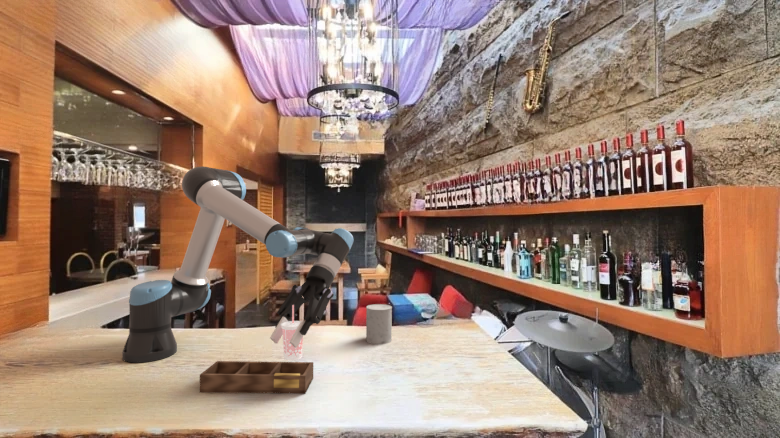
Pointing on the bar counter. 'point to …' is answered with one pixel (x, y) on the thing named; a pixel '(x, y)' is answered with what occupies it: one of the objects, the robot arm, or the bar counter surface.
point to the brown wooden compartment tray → (257, 377)
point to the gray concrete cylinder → (379, 324)
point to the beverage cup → (288, 332)
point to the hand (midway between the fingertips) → (283, 342)
